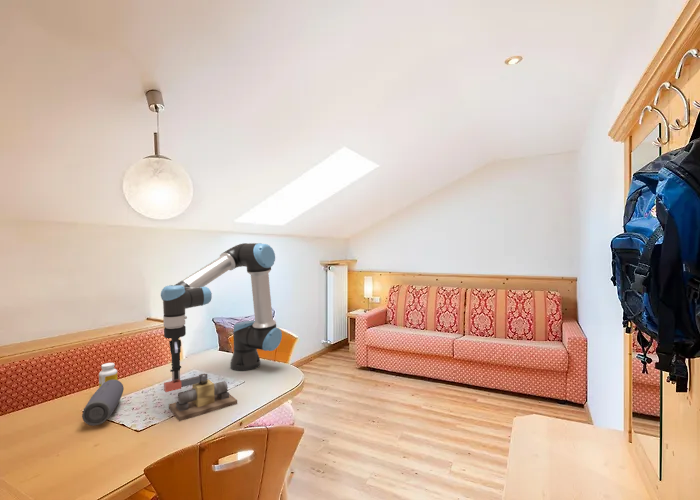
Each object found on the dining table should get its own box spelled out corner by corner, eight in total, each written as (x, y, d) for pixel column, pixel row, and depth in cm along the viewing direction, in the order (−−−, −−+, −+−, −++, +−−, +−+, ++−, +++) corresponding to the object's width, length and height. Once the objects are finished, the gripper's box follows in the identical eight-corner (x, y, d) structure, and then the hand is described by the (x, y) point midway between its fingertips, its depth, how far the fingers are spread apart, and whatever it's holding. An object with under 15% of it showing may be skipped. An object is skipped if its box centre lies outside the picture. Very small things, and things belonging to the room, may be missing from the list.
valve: (223, 392, 160) (223, 372, 159) (237, 403, 149) (237, 381, 149) (168, 407, 145) (168, 385, 145) (179, 421, 135) (179, 396, 134)
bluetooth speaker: (98, 404, 149) (98, 379, 149) (125, 400, 152) (124, 376, 152) (80, 431, 128) (79, 403, 127) (111, 426, 131) (110, 399, 131)
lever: (205, 380, 149) (205, 373, 149) (208, 382, 147) (208, 375, 147) (163, 390, 139) (163, 382, 139) (165, 393, 137) (165, 385, 137)
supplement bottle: (121, 391, 161) (120, 362, 161) (110, 397, 155) (109, 367, 154) (107, 390, 162) (106, 361, 162) (95, 396, 155) (94, 366, 155)
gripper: (186, 328, 138) (188, 390, 139) (184, 321, 149) (185, 378, 150) (164, 331, 134) (166, 395, 135) (163, 323, 145) (164, 382, 147)
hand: (176, 386), depth 143 cm, fingers closed
